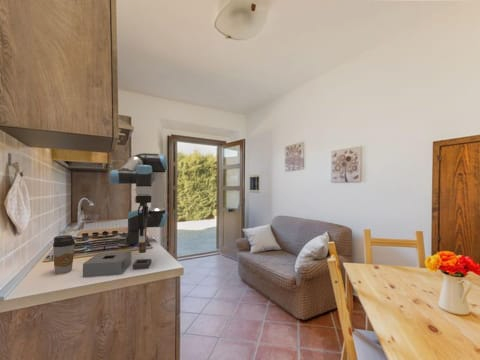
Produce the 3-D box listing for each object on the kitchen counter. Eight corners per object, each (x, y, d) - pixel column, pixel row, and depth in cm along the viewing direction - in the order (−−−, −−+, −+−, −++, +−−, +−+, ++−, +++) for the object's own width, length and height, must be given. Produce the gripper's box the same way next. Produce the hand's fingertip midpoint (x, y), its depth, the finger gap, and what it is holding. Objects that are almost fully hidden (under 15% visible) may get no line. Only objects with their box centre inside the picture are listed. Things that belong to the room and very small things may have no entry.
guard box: (97, 264, 113) (98, 253, 114) (131, 262, 117) (131, 251, 117) (82, 277, 98) (82, 263, 98) (121, 274, 101) (121, 261, 101)
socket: (136, 264, 114) (136, 259, 114) (151, 263, 116) (151, 258, 116) (132, 269, 107) (132, 264, 107) (148, 268, 109) (148, 263, 109)
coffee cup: (54, 276, 98) (55, 243, 99) (49, 272, 103) (50, 240, 104) (76, 271, 105) (77, 239, 105) (71, 267, 110) (72, 237, 110)
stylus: (139, 251, 113) (140, 218, 113) (146, 251, 113) (147, 218, 114) (138, 253, 110) (139, 219, 110) (145, 252, 110) (145, 218, 111)
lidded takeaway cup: (67, 254, 130) (68, 234, 130) (75, 256, 126) (76, 235, 127) (49, 259, 122) (50, 237, 122) (56, 261, 118) (57, 239, 119)
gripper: (139, 194, 120) (138, 238, 119) (131, 195, 104) (130, 245, 103) (154, 194, 121) (153, 237, 120) (148, 195, 105) (147, 244, 105)
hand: (142, 241), depth 112 cm, fingers closed on stylus, 3 cm apart
